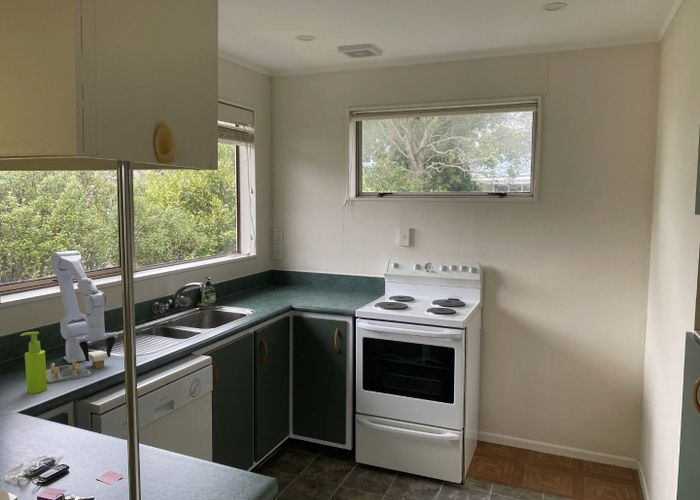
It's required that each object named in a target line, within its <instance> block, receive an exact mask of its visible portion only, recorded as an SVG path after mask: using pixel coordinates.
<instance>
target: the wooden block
mask: <svg viewBox="0 0 700 500" xmlns="http://www.w3.org/2000/svg"><path fill="white" fill-rule="evenodd" d="M91 363H92V364H91V365H92V366H93V367H94V368H95V369H102V368H105V360H101V361H95V362H94V361H93V360H91Z"/></svg>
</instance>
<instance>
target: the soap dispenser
mask: <svg viewBox="0 0 700 500" xmlns="http://www.w3.org/2000/svg"><path fill="white" fill-rule="evenodd" d="M39 333H40V331H26V332H24V333H20V334H19V337H24V336H30V341H29V342H28V351H27V352H25V353H24V362H25V377H26V393H27V394H31V395H32V394H39V393H43V392H45V391H47V390H48V382H47V377H46V370H47V366H46V365H47V364H46V351H45V350H44V349H43V350H42V349H41V341H40V340H38V335H39Z"/></svg>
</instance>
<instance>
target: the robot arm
mask: <svg viewBox="0 0 700 500" xmlns="http://www.w3.org/2000/svg"><path fill="white" fill-rule="evenodd" d="M49 261H50V262H49V263H50V267H51V270H52V273H53V274H54V275H56V278H57V283H58V286H59V291H60V295H61V299H62V305H63V307H64V308H63V309H64V312H65V316H64V317H63V318H62V319H61V320H60V321H59V324H60V328H59V329H60V334H61V336H62V338H63V339H65V340H66V341H65V355H66V356H64V357H63V359H64V360H65V361H66V362H67V363H68V364H72V360H76V363H79V362H83V361H85V362H90V360H91V359H90V358H89V355H88V352H89V344H88V343H90V342H96V341H103V340H105V346H106V352H105V353H106V354H107V355H108V359H109V358H111V353H112V349H113V346H114V345H115V343H116V339H117V338H118V332H116V331H114V332H106V329H105V311H104V310H105V309H104V308H105V307H106V306H107V296H106V294H105V292H103V291H101V290H99V289H98V288H97V286H96V284H95V283H94V280H93V279H92V278H91V277H90V278H88V277H87V274H86V271H84V268H83V266H82V261H83V259H82V255H81V253H80V252H79V250H76V249H75V250H67V251H54V252H52V254H51V255H50V260H49ZM72 276H73V277H74V279H75V280H76V281H77V284H76V287H77V288H78V290H79V292H80V294H81V296H82V298H83V306H84V308H85V313H86V314H84V313H82V312H80V308H79V303H78V299H77V295H76V291H75V287H74V282H73V278H72Z"/></svg>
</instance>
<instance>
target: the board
mask: <svg viewBox="0 0 700 500" xmlns="http://www.w3.org/2000/svg"><path fill="white" fill-rule="evenodd" d="M88 355H89V358H90V359H89V360H91V361H92V360H93V361H94V362H95V361H101V360H104V361H105V360H106V361H107V360H109V358H108V355H107V354H106V352H104V351H103V350H95V351H88Z"/></svg>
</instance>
